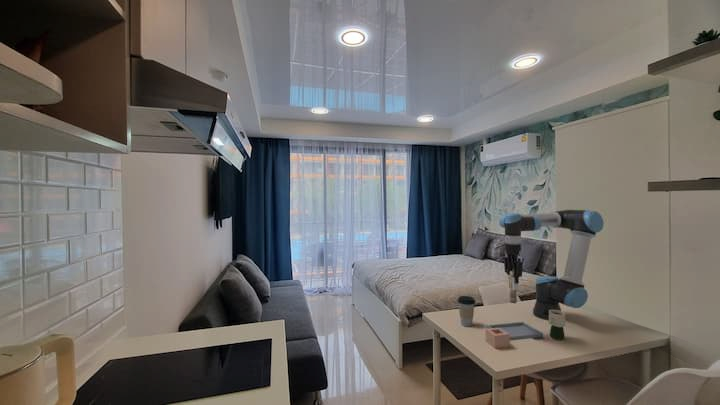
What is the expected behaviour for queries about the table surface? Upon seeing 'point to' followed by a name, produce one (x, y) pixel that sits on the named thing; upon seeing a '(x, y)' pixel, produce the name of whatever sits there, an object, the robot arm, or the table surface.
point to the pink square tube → (497, 338)
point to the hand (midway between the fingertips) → (513, 288)
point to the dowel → (512, 292)
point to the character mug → (557, 323)
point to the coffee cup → (466, 310)
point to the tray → (518, 330)
